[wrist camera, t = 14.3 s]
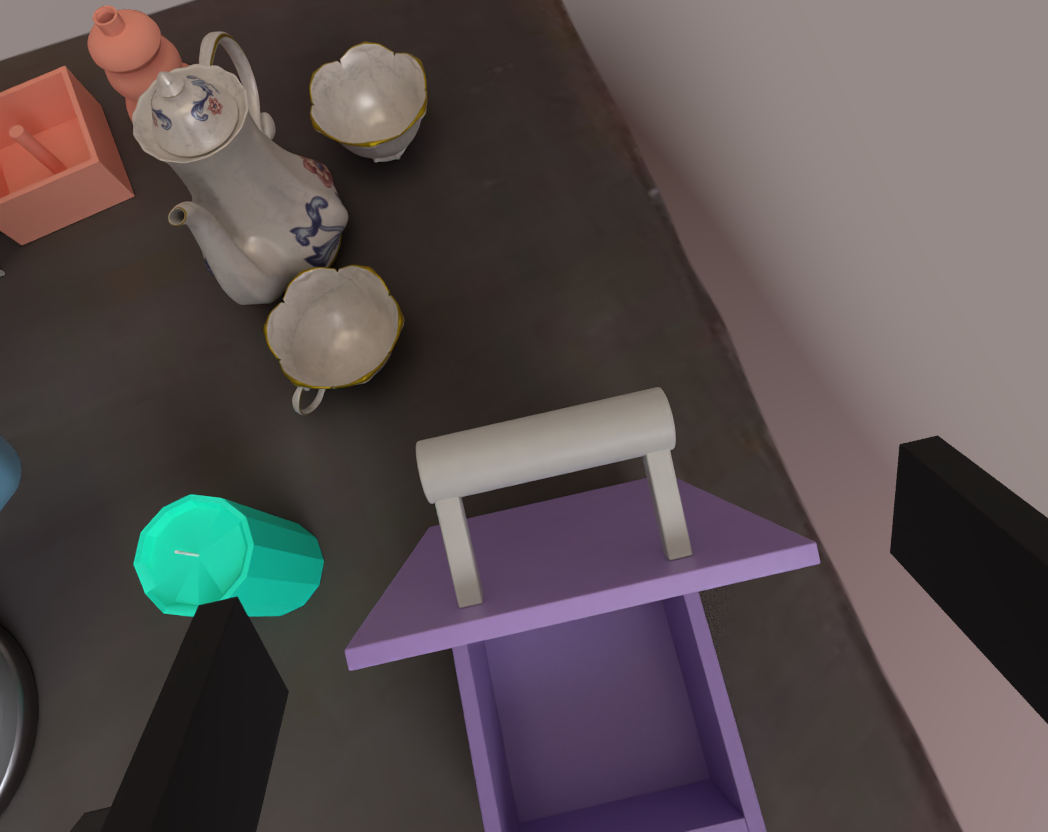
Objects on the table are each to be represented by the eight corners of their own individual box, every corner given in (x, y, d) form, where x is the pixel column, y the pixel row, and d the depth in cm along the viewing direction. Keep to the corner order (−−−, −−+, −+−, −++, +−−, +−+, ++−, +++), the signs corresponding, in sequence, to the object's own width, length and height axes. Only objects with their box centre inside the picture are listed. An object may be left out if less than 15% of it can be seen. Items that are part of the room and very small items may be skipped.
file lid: (821, 564, 18) (777, 361, 18) (348, 672, 18) (301, 468, 17) (669, 484, 35) (646, 382, 35) (431, 538, 35) (407, 436, 35)
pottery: (22, 245, 51) (-100, 162, 42) (-7, 151, 54) (-127, 53, 44) (243, 149, 53) (173, 48, 43) (205, 62, 55) (131, -52, 46)
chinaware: (433, 426, 47) (405, 330, 31) (187, 431, 46) (29, 334, 30) (435, 94, 55) (413, -119, 39) (224, 92, 54) (114, -127, 38)
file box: (724, 787, 39) (767, 833, 31) (509, 837, 39) (495, 896, 31) (647, 504, 43) (667, 480, 35) (455, 548, 43) (431, 533, 35)
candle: (230, 528, 44) (114, 499, 33) (320, 514, 44) (236, 479, 33) (233, 623, 43) (112, 627, 31) (327, 608, 43) (240, 607, 31)
